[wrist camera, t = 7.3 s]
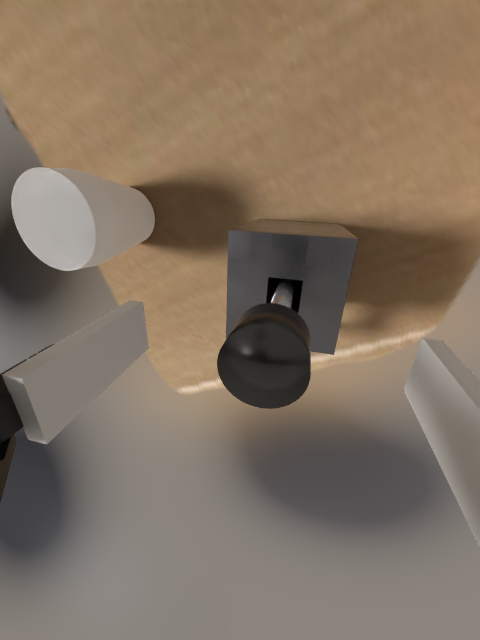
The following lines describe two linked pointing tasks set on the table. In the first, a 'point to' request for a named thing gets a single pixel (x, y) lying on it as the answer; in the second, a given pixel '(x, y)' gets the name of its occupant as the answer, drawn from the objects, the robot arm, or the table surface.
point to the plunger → (268, 351)
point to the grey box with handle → (292, 272)
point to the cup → (78, 217)
